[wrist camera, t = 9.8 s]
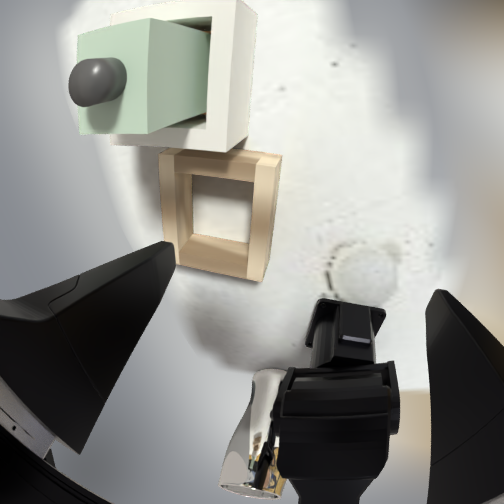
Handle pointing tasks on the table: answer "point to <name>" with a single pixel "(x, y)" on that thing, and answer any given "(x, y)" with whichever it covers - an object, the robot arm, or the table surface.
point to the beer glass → (255, 444)
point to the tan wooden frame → (181, 209)
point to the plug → (139, 76)
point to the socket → (219, 76)
